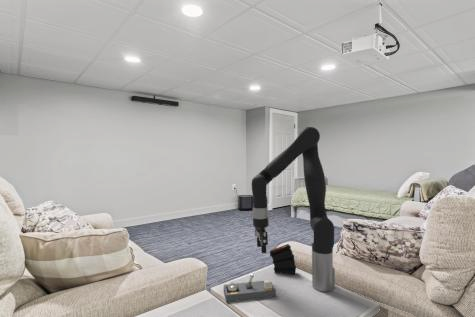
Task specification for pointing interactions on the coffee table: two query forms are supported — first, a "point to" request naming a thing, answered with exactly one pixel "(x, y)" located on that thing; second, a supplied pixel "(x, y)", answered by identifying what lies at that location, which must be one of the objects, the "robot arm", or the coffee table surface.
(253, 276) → the toggle
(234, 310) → the coffee table surface
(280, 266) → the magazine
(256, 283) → the panel
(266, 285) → the slider
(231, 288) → the button
